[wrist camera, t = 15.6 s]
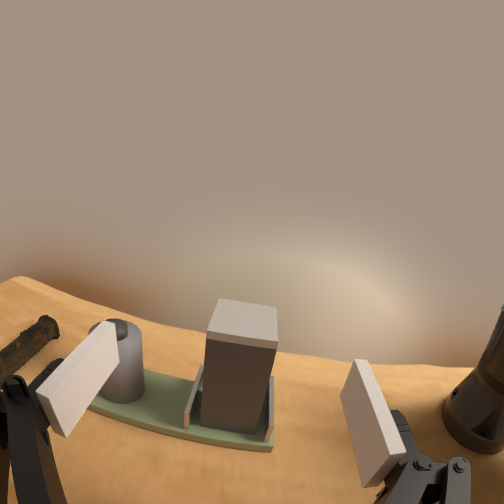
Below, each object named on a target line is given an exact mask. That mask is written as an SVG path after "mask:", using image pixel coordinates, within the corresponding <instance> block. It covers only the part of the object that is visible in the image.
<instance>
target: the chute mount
mask: <svg viewBox="0 0 504 504" xmlns="http://www.w3.org/2000/svg"><path fill="white" fill-rule="evenodd" d="M203 372H204V365H200V367H199V370H198V373H197V376H196V379H195V382H194V385H193V388H192V391H191V394H190V397H189V400H188V403H187V406H186V409H185V412H184V430H189V429H190V425H191V422H192V418H193V415H194V412H195V408H196V405H197V402H198V398H199V395H200V392H201V388H202V385H203ZM273 428H274V380H273V376H270V379H269V383H268V387H267V391H266V395H265V421H264V442H266V443H269V440H270V437H271V434H272V431H273Z"/></svg>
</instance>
